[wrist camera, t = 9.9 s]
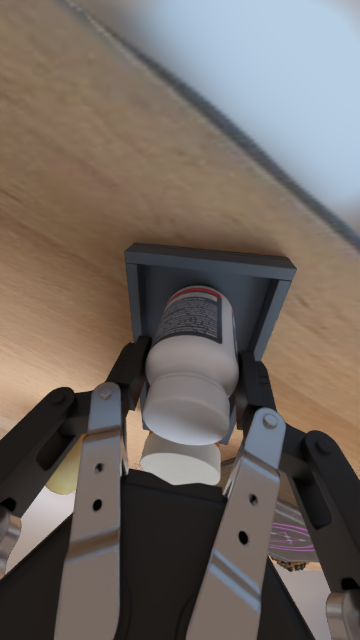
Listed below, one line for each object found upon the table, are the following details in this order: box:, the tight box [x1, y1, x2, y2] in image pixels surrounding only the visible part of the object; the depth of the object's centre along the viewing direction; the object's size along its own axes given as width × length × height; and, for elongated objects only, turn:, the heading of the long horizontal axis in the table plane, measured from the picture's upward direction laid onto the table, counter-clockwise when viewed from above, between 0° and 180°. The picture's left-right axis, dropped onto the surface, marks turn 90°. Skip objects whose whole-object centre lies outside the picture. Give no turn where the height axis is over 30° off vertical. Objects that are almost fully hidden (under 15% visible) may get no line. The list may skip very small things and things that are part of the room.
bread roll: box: [270, 556, 310, 572], centre depth 55 cm, size 11×11×5 cm
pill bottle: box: [142, 286, 239, 445], centre depth 13 cm, size 5×5×9 cm
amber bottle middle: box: [140, 430, 220, 485], centre depth 17 cm, size 5×5×9 cm
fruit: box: [45, 433, 87, 495], centre depth 31 cm, size 8×8×8 cm
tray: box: [124, 243, 297, 445], centre depth 20 cm, size 23×11×2 cm, turn 177°
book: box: [213, 458, 319, 562], centre depth 37 cm, size 30×22×5 cm
